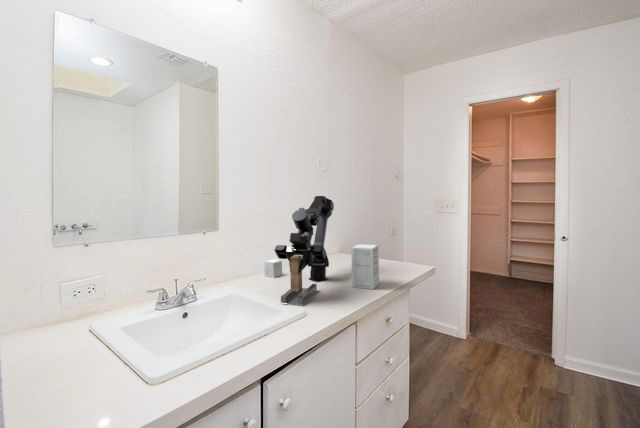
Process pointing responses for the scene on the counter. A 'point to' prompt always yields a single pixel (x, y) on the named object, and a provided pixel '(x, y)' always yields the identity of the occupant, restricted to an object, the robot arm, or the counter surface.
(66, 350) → the counter surface
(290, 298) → the bottom track
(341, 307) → the counter surface
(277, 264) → the product box
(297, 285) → the brown wooden block
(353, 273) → the supplement box
